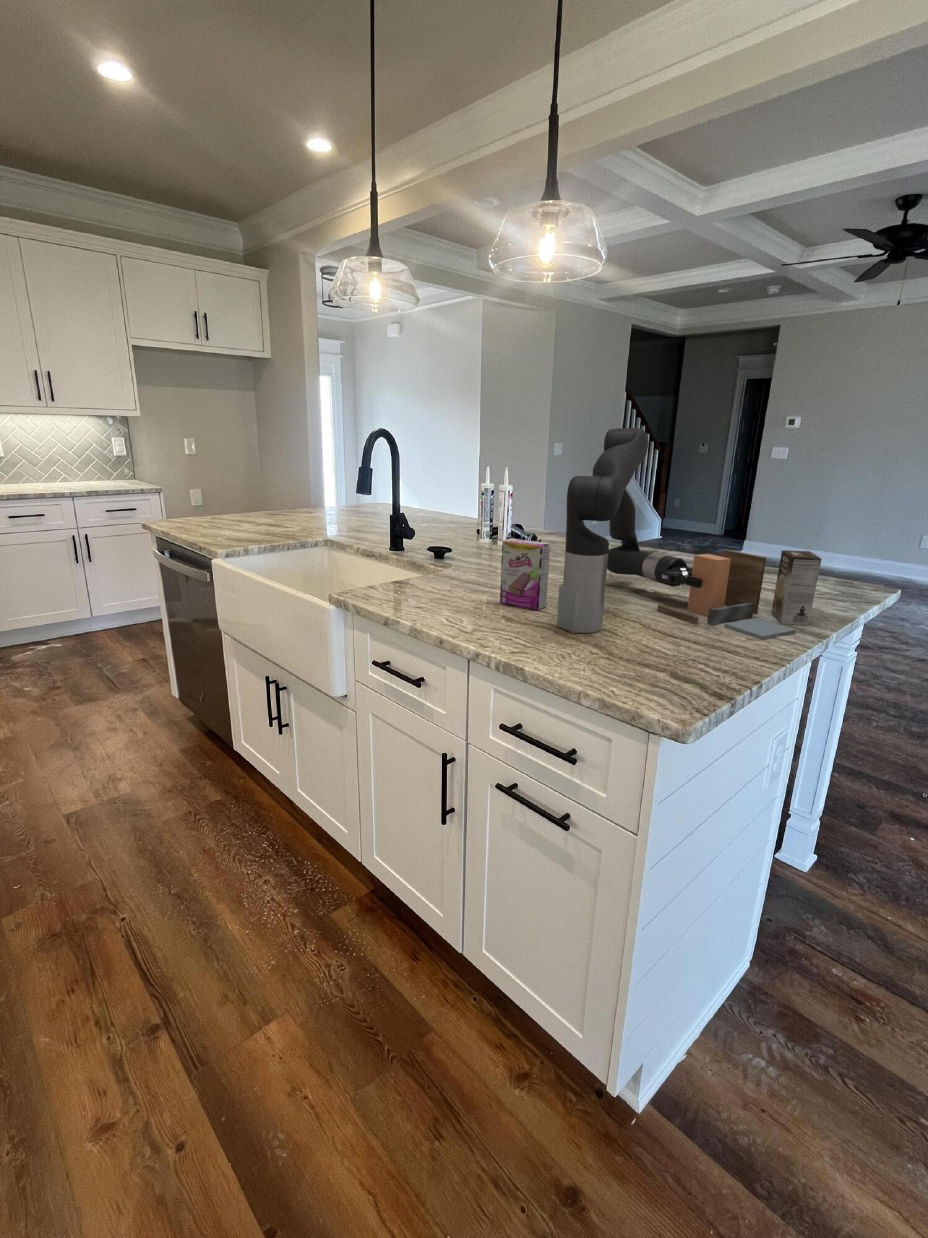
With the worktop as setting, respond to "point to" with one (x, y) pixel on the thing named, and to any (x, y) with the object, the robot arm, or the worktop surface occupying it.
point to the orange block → (709, 583)
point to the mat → (759, 628)
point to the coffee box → (795, 587)
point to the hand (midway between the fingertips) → (713, 582)
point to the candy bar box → (524, 573)
